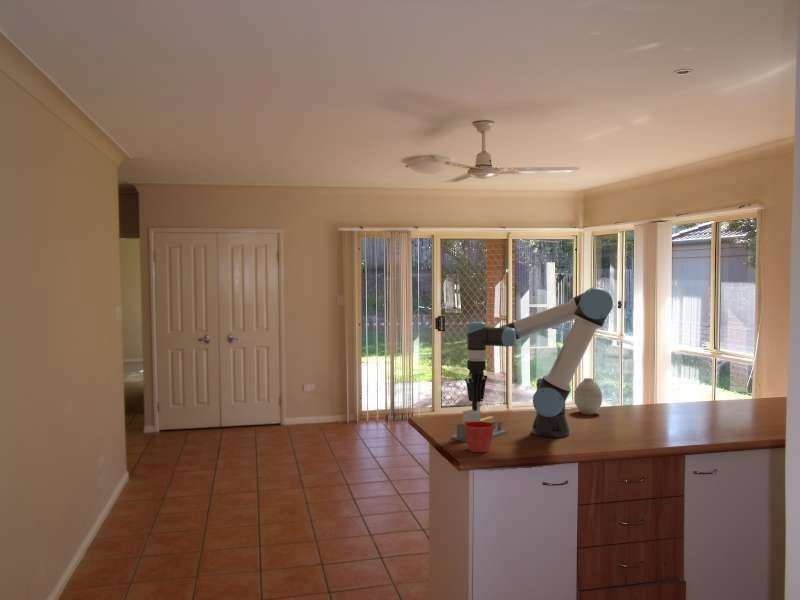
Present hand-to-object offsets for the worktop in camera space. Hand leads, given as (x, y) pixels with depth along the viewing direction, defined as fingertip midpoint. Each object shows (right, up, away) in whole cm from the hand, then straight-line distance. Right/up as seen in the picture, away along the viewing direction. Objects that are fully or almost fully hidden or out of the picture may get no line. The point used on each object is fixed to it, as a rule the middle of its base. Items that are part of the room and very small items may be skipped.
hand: (476, 417), depth 259 cm
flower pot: (-1, -9, -21) cm, 23 cm away
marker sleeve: (-2, -5, -2) cm, 6 cm away
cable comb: (+1, -8, 0) cm, 8 cm away
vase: (+59, -7, +45) cm, 75 cm away
